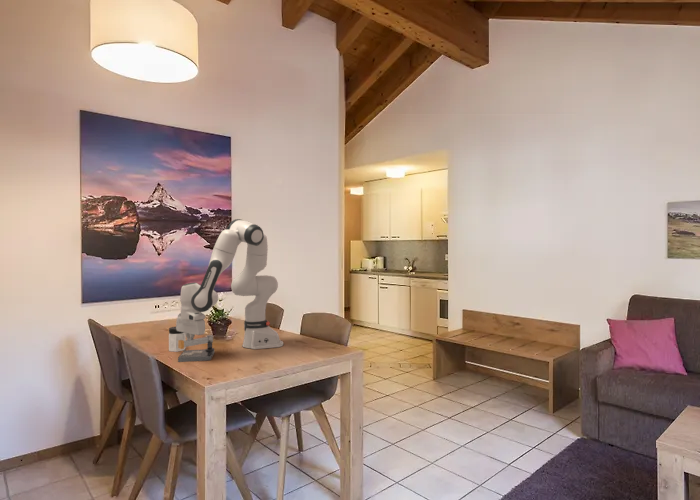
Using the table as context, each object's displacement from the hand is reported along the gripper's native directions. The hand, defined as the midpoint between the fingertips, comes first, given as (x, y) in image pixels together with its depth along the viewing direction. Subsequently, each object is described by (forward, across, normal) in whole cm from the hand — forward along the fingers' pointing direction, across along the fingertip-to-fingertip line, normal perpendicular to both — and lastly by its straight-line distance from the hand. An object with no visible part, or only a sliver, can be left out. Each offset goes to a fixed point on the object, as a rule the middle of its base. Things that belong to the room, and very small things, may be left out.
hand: (190, 341), depth 224 cm
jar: (+7, -16, +3) cm, 18 cm away
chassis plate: (+7, +6, 0) cm, 9 cm away
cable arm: (+1, +4, +1) cm, 5 cm away
